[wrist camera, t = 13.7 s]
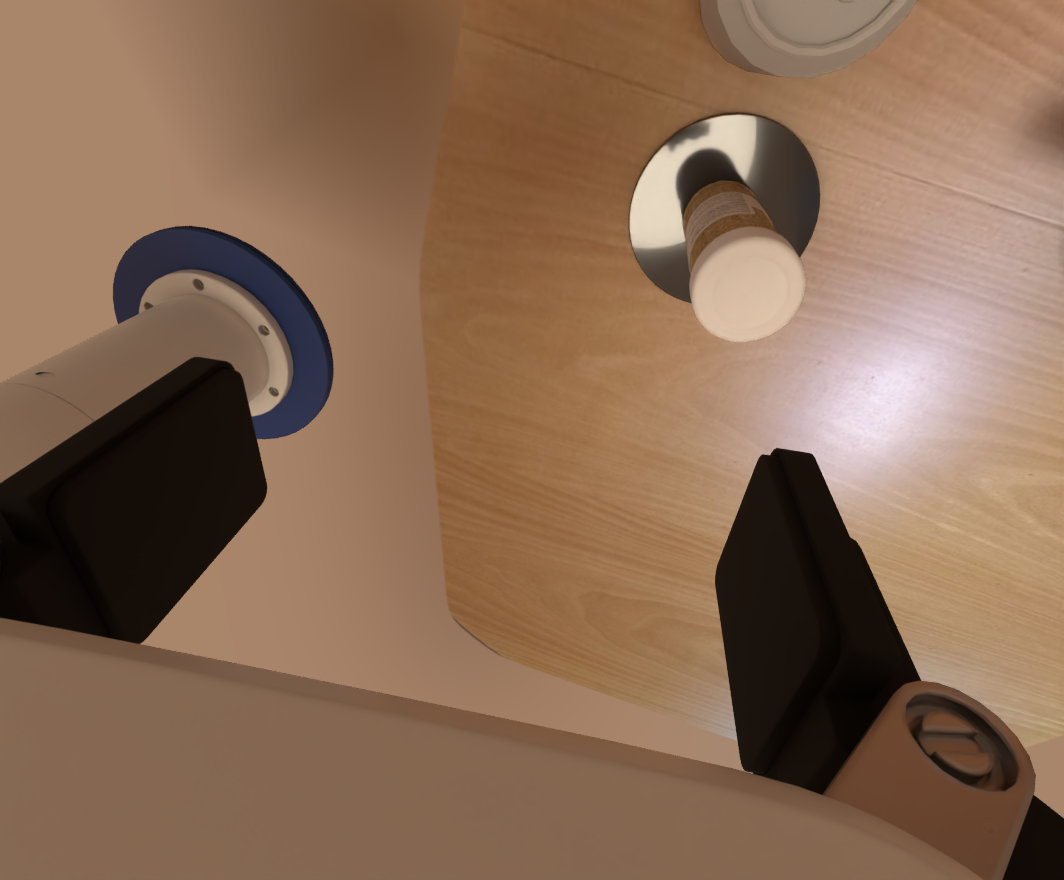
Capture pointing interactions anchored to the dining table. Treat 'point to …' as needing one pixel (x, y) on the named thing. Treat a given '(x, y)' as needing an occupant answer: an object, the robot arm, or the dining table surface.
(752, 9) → the can
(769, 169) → the coaster
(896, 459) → the dining table surface
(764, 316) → the sprinkles bottle
